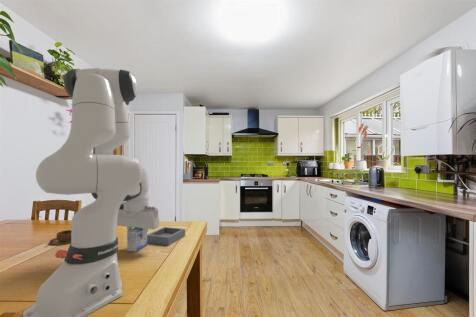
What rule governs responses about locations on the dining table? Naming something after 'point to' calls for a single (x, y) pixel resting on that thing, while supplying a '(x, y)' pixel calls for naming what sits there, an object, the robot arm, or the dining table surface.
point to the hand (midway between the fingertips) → (137, 237)
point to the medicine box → (135, 240)
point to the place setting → (62, 238)
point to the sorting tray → (165, 236)
